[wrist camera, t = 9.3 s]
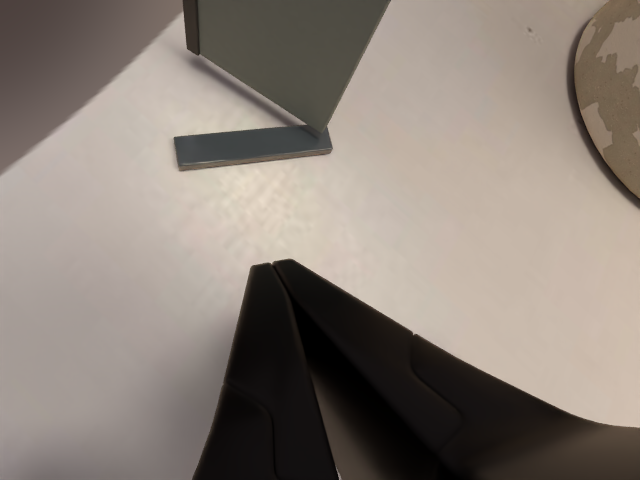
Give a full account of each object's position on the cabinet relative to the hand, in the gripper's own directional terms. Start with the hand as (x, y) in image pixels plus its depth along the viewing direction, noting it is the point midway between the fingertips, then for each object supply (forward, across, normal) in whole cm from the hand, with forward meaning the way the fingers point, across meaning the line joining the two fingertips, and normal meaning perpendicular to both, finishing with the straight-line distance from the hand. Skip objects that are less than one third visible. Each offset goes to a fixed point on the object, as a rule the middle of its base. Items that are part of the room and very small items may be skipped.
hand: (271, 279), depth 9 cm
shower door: (+15, -3, 0) cm, 16 cm away
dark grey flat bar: (+14, -2, +2) cm, 15 cm away
